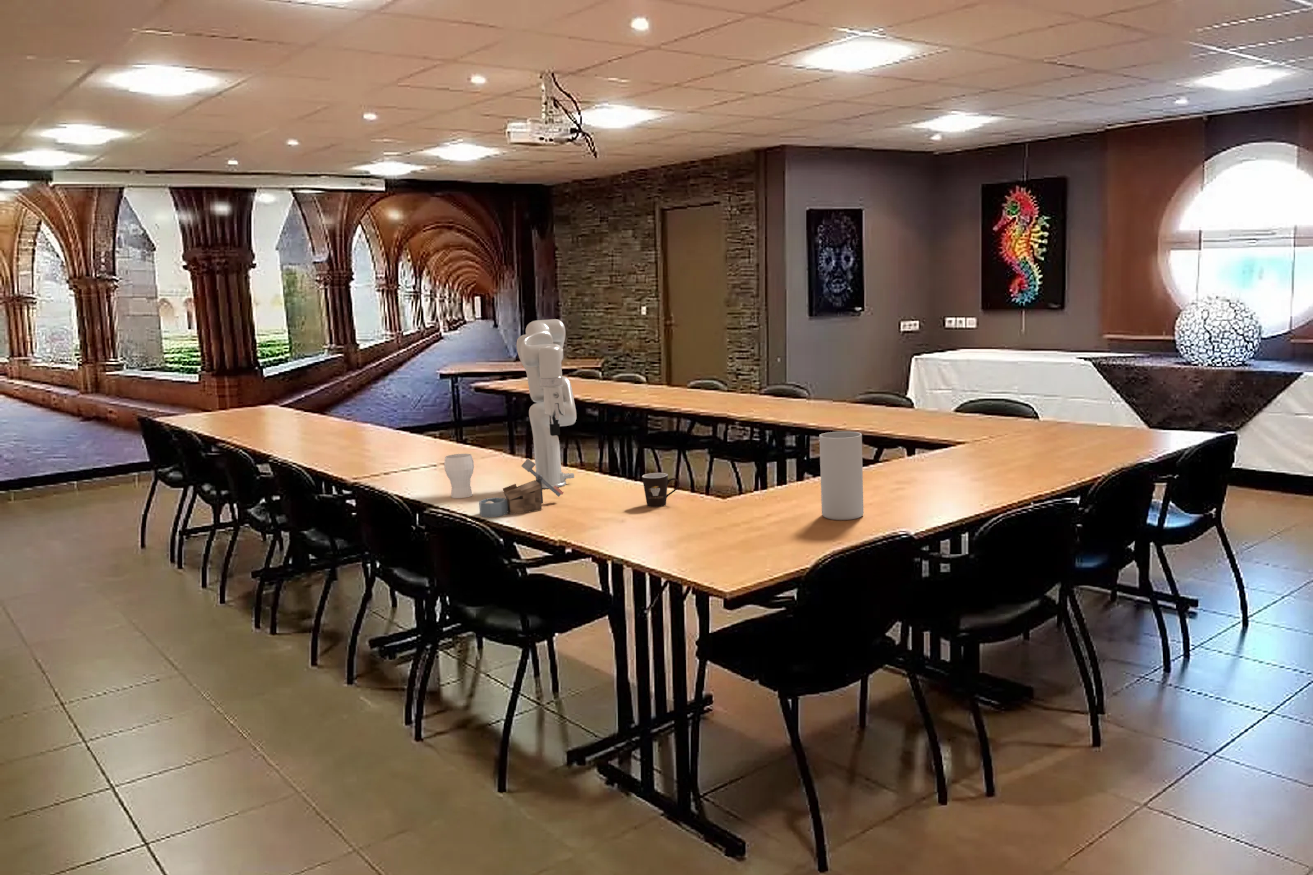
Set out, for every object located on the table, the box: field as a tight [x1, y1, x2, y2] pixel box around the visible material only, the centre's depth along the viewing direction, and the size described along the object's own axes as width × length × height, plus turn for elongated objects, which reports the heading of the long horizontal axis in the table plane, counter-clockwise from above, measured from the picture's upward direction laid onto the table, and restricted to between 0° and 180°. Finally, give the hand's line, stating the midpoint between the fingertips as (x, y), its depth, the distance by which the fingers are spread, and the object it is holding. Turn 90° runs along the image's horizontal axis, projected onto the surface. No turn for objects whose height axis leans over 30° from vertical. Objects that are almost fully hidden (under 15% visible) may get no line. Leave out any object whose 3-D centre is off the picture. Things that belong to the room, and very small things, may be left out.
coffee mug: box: [641, 472, 681, 508], centre depth 328 cm, size 12×9×10 cm
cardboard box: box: [502, 478, 544, 515], centre depth 334 cm, size 14×12×10 cm
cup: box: [443, 453, 475, 499], centre depth 360 cm, size 11×11×15 cm
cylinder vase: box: [818, 431, 864, 521], centre depth 298 cm, size 12×12×25 cm
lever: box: [521, 458, 564, 497], centre depth 336 cm, size 17×11×3 cm
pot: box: [478, 497, 509, 518], centre depth 329 cm, size 9×9×4 cm
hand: (555, 434), depth 341 cm, fingers closed
